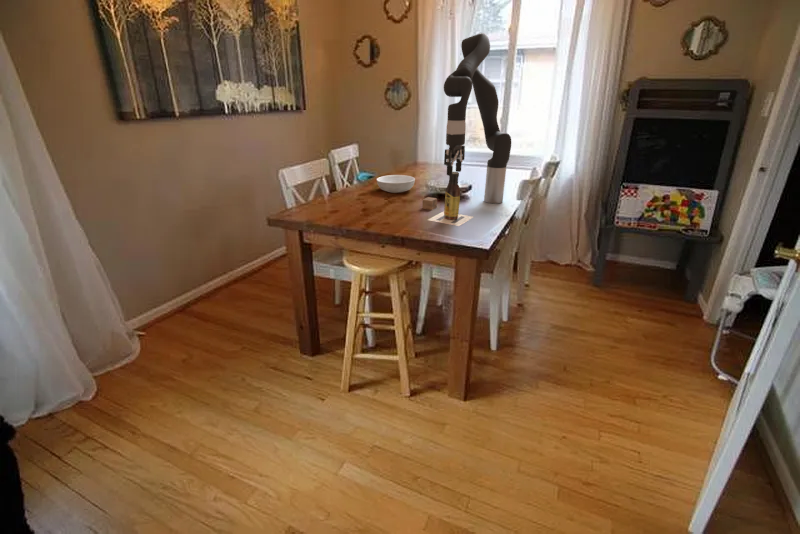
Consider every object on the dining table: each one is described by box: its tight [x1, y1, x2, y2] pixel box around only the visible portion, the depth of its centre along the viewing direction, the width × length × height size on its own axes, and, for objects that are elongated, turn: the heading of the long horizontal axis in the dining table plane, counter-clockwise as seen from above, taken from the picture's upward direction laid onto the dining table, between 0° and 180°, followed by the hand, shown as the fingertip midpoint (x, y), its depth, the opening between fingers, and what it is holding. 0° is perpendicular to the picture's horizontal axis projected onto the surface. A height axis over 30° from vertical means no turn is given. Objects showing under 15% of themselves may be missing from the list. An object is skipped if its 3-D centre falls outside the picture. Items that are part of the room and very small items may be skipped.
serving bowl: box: [376, 174, 416, 194], centre depth 219 cm, size 21×21×7 cm
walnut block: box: [421, 196, 438, 211], centre depth 187 cm, size 5×5×5 cm
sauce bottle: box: [443, 171, 461, 220], centre depth 169 cm, size 6×6×20 cm
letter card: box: [427, 210, 474, 227], centre depth 173 cm, size 15×15×1 cm
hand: (453, 173), depth 165 cm, fingers open, 8 cm apart
